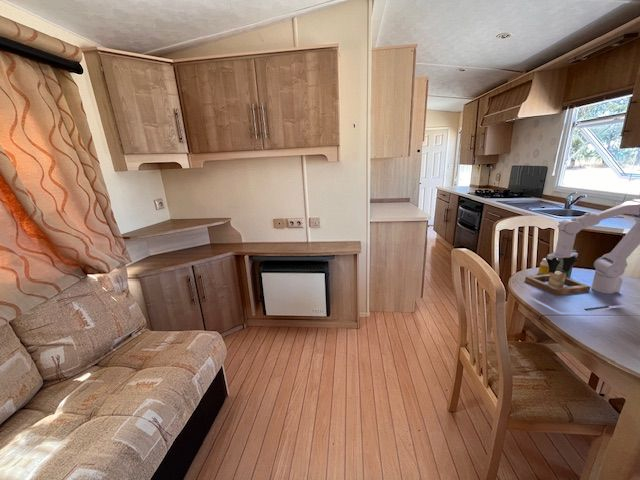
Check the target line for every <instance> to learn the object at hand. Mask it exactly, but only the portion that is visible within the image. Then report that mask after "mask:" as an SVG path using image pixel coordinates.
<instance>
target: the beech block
mask: <svg viewBox="0 0 640 480" xmlns="http://www.w3.org/2000/svg"><path fill="white" fill-rule="evenodd" d="M565 277H567V276H566V274H565V273H562V272H560V271H555V273H550V278H549V279H548V282H547V283H548V285H551V286H553V287H555V288H560V287H563V286H565Z"/></svg>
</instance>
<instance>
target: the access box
mask: <svg viewBox="0 0 640 480" xmlns="http://www.w3.org/2000/svg"><path fill="white" fill-rule="evenodd" d="M549 278H550V274H544V275H540V274H537V275H535V274H534V275H527V276H525V279H524V281H525V282H527V283H528V284H530V285H533V286H534V287H537V288H539V289H541V290H544V291H545V292H547V293H550V294H553V295H555V296H562V295H569V294H578V293H586V292H590V289H591V286H592V285H591V286H590V285H587V284H585V283H583V282H580V281H577V280H575V279H573V278H569V277H568V276H566V277H565V282H564V284H568V285H570V286H565V285H564V286H563V287H560V288H555V287H553V286H551V285H548V282H544V281H545V280H547V281H548V280H549Z"/></svg>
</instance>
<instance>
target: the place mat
mask: <svg viewBox="0 0 640 480" xmlns="http://www.w3.org/2000/svg"><path fill="white" fill-rule="evenodd" d="M607 308H608V309H609V308H610V306H609V305H604V306H596V307H588V308H584V310H585V311H594V310H602V309H607Z"/></svg>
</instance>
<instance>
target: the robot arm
mask: <svg viewBox="0 0 640 480" xmlns="http://www.w3.org/2000/svg"><path fill="white" fill-rule="evenodd" d="M624 214H625V215H631V216H632V217H633V218H634V221H635V224H633V226H632V227H631V228H630V229H629V230H628V232H627V233H626V234H625V235H624V236H623V238H621V239H620V240H619V242H618V243H617V244H616V245H615V247H614V248H613V249H612V250H611V251H610V252H608V253H605V254H603V255H602V256H601V257H598V258H597V259H596V260H595V261H594V263H593V267H594V268H595V273H594V276H593V280H592V282H591V283H592V284H591V287H590V289H592V290H593V291H595V292H597V293H602V294H608V295H609V294H614V293H619V294H621V292H620V290H621V287H622V285H623V278H622V275H624V273H625V272H626V271H625V270H626V268H627V267H628V262H627V259H628V258H629V257H630V256H631V255H632V254H633V252H634V251H635V250H636V249H638V247H639V246H640V198H633V199H631V200H628V201H624V202H622V203H621V204H618V205H616V206H613V207H610V208H608V209H605V210H602V211H600V212H597V213H595V212H585V213H584V215H580V216H577V217H572V218H571V219H564V220H562V221H561V222H560V223H559V224H558V225H557V228H558V230H559V233H558V238H557V243H556V247H555V250H554V251H553V252H552V253H549V254H547V256H545V258H546V260H547V263H548V266H549V272H551V273H555V271H556V268H557V266H558V264H559V263H560V262H561V261H558V258H563V271H566V272H568V271H569V270H570V268H571V267H572V265H573V266H574V264H575V263H577V261H578V260H579V258H577V257H578V256H579V253H578V252H576V253H575V252H572V249H574V244H575V240H576V236H577V234H578V233H580V231H582V230H584V229H587V228H589V227H593V226H596V225H599V224H600V223H601V221H602V220H603V221H604V220H607V219H611V218H615V217H617V216H620V215H624Z"/></svg>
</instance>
